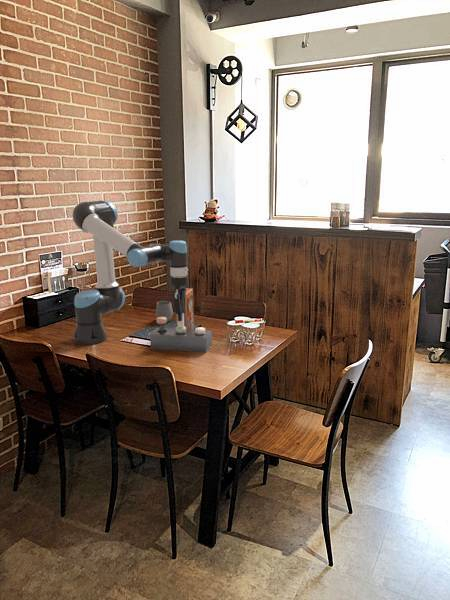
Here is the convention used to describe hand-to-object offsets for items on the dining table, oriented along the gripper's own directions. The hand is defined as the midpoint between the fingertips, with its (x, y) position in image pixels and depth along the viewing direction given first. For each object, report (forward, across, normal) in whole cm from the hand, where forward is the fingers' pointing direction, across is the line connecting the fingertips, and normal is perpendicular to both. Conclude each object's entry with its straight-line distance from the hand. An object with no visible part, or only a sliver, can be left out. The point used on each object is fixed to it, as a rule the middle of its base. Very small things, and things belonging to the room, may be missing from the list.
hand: (180, 327), depth 227 cm
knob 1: (+5, 0, +9) cm, 10 cm away
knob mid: (+9, 0, 0) cm, 9 cm away
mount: (+10, 0, 0) cm, 10 cm away
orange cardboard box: (+10, +20, +4) cm, 23 cm away
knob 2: (+9, 0, -9) cm, 12 cm away
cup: (+10, +39, +21) cm, 45 cm away
